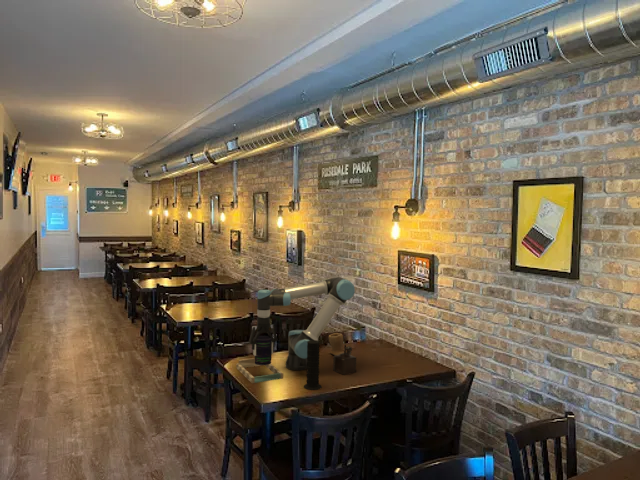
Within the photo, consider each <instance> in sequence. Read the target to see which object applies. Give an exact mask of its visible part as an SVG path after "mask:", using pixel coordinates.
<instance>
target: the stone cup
mask: <svg viewBox="0 0 640 480" xmlns="http://www.w3.org/2000/svg"><path fill="white" fill-rule="evenodd" d="M328 342H329V345H330V346H331V350H330V351H329V354H331V355H333V356H335V355H340V354H342V353H344V335H343V334H342V332H341V333H340V332H339V333H338V332H336V333H335V332H334V333H331V334H329V335H328ZM350 355H352V353H351V354H350Z"/></svg>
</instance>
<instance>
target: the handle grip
mask: <svg viewBox="0 0 640 480" xmlns="http://www.w3.org/2000/svg"><path fill="white" fill-rule="evenodd" d="M319 379H320V341H319V340H318V341H317V340H310V341H307V369H306V383H305V384H304V385H303V388H304V389H306V390H307V391H317V390H321V389H322V385H321V384H320V383H319V381H320V380H319Z"/></svg>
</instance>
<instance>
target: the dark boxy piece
mask: <svg viewBox="0 0 640 480" xmlns="http://www.w3.org/2000/svg"><path fill="white" fill-rule="evenodd" d="M343 350H344V353H342V354H340V355H333V365H332V366H333V367H332V371H333V372H335V373H338V374H340V375H342V376H343V375H344V376H345V375H351V374H353V373H357V356H354V355H352V351H353V348H352V347H351V345H350V346H349V345H348V346H347V344H343ZM350 354H351V355H350Z"/></svg>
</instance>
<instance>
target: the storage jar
mask: <svg viewBox="0 0 640 480" xmlns="http://www.w3.org/2000/svg"><path fill="white" fill-rule="evenodd" d="M272 337H273V336H272ZM272 337H271V338H270V337H269V335H259V337H258V339H257V341H256V343H255V344H256V356H254V358H255V364H257V365H262V366H264V365H269V364H272V357H273V356H272V353H271V347H272V340H271V339H272Z"/></svg>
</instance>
